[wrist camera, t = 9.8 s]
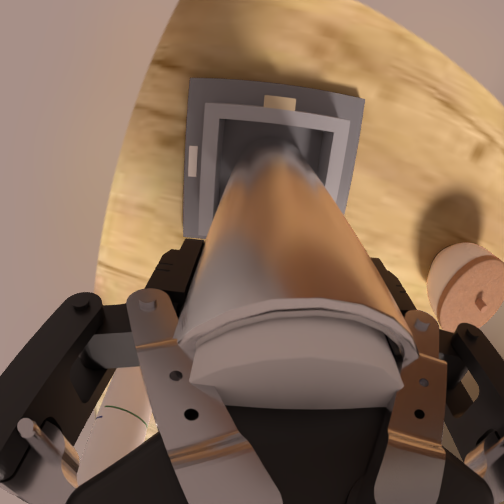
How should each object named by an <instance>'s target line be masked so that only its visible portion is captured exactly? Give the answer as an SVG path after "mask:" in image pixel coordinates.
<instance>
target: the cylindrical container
mask: <svg viewBox="0 0 504 504" xmlns="http://www.w3.org/2000/svg"><path fill="white" fill-rule="evenodd" d="M151 413H152V409H151V406H150V403H149V399H148V396H147V393H146V389H145V386H144V382H143V378H142V375H141V371H140V367H139V366H138V367H125V368H117V369H116V371H115V373H114V375H113V377H112V380H111V382H110V385H109V387H108V389H107V392H106V394H105V397H104V399H103V402H102V404H101V407H100V409H99V412H98V414H97V417H96V420H95V422H94V425H93V427H92V430H91V433H90V436H89V438H88V441H87V444H86V447H85V449H84V452H83V455H82V458H81V461H80V464H79V468H78V472H77V483H78V486H80V485H81V484H83V483H84V482H86V481H88V480H89V479H91V478H92V477H94V476H95V475H97V474H98V473H100V472H102V471H103V470H105V469H106V468H108V467H109V466H111V465H112V464H114V463H115V462H116V461H118V460H119V459H121V458H122V457H124V456H125V455H127V454H128V453H130V452H131V451H132V450H134V449H135V448H137V447H138V446H139V445H141V444H142V443H144V439H145V435H146V432H147V428H148V424H149V420H150V417H151Z"/></svg>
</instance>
